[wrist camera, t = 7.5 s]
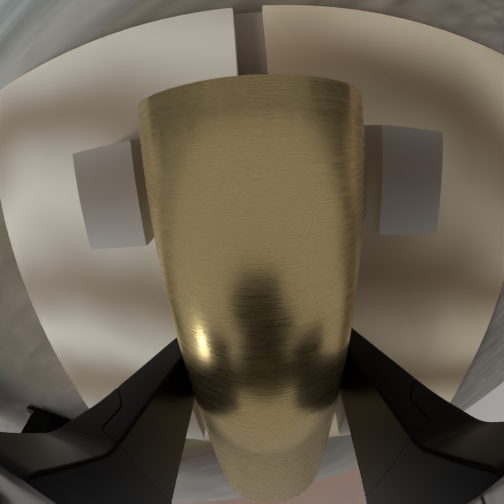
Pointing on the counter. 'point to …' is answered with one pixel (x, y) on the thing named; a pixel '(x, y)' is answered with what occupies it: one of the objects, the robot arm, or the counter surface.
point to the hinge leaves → (375, 183)
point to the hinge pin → (259, 260)
